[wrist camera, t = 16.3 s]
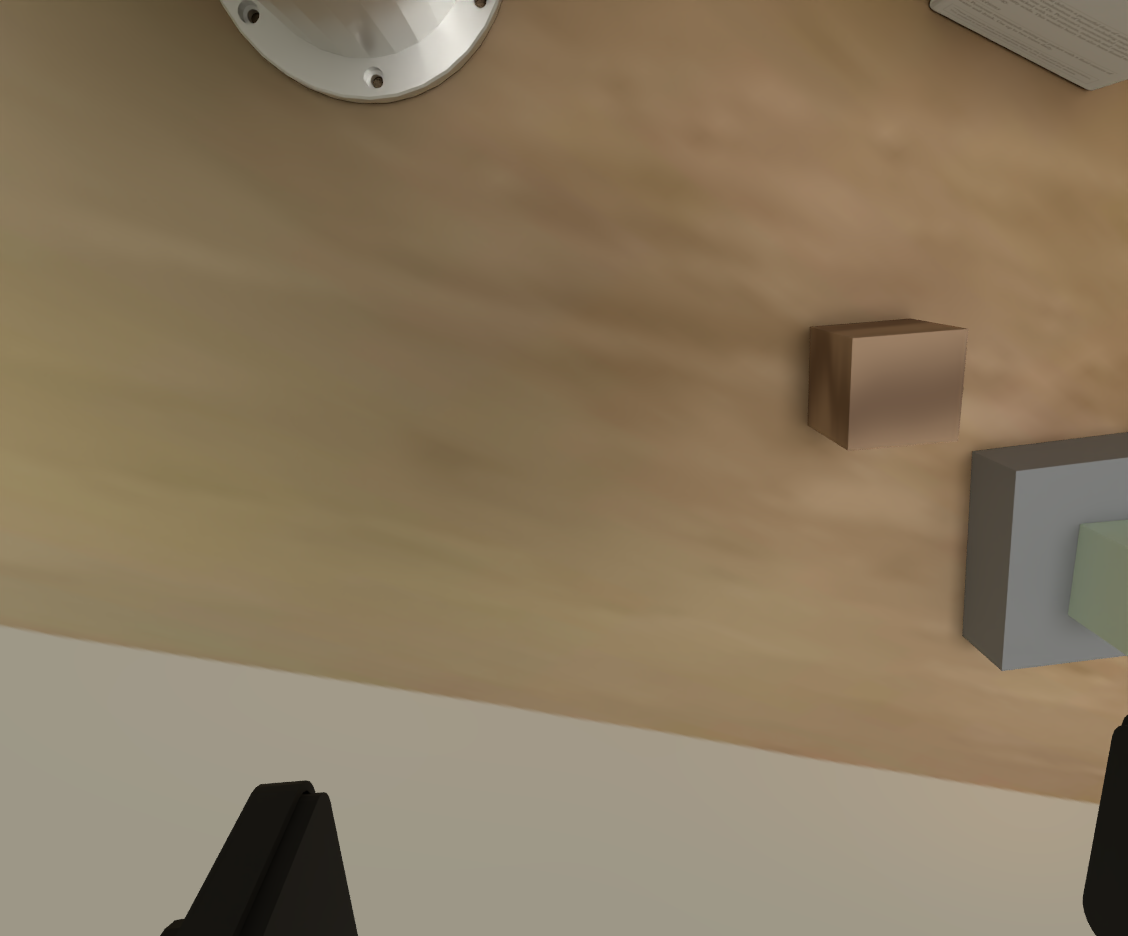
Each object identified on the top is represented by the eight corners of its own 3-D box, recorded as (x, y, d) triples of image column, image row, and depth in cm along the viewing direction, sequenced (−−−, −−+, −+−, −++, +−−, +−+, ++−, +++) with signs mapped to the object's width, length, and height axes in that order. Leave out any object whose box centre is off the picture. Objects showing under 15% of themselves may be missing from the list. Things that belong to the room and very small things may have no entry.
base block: (967, 449, 38) (1016, 471, 34) (1173, 423, 38) (1245, 443, 34) (958, 631, 41) (1001, 670, 37) (1147, 608, 41) (1210, 645, 37)
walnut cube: (809, 326, 35) (852, 338, 30) (909, 318, 35) (968, 328, 30) (807, 424, 37) (847, 450, 32) (903, 416, 37) (958, 441, 32)
